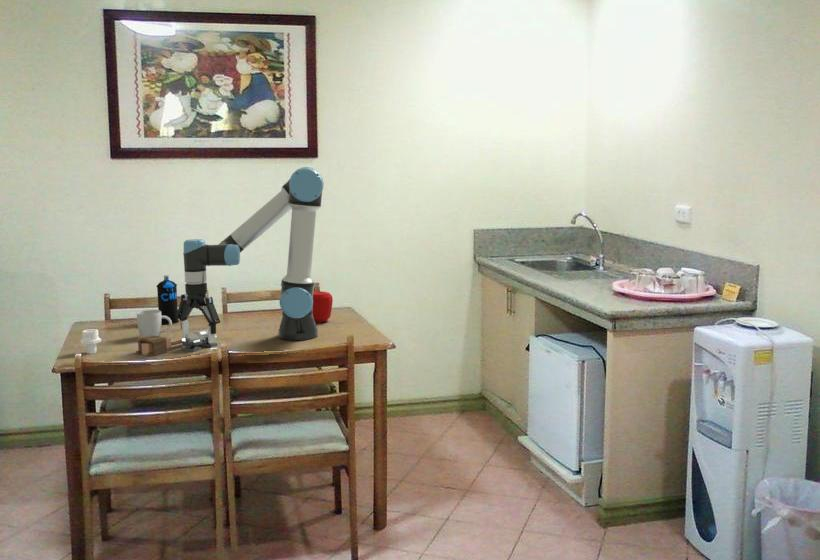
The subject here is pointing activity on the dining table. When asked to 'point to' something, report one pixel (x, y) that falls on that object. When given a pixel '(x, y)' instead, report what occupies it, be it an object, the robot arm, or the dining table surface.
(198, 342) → the v block
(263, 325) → the dining table surface
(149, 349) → the brown wooden block
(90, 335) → the pipe fitting
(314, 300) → the red bell pepper
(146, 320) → the mug
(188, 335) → the grey elongated lump
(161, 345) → the beam
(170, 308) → the aerosol can
